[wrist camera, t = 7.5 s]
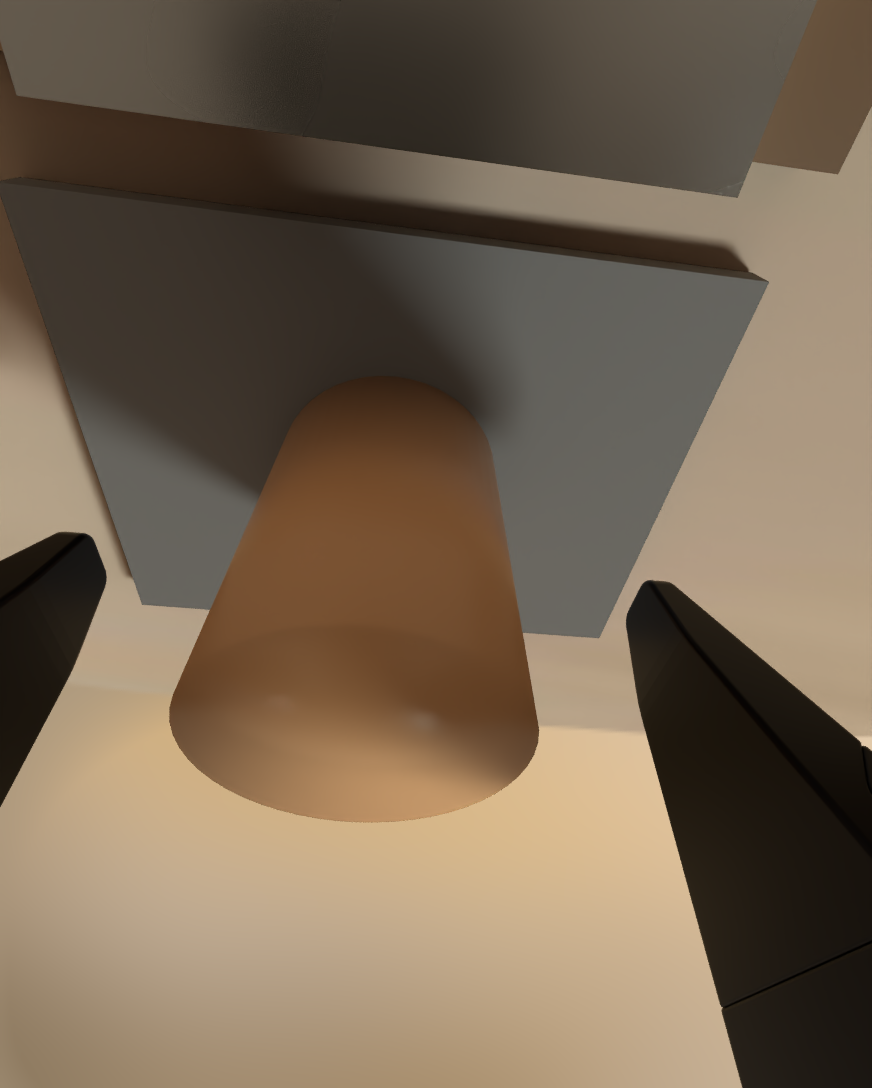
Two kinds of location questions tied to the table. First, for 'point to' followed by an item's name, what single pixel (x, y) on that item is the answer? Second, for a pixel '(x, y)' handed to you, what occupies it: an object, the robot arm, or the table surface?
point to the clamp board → (822, 91)
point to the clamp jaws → (438, 75)
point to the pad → (371, 372)
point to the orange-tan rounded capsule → (366, 621)
